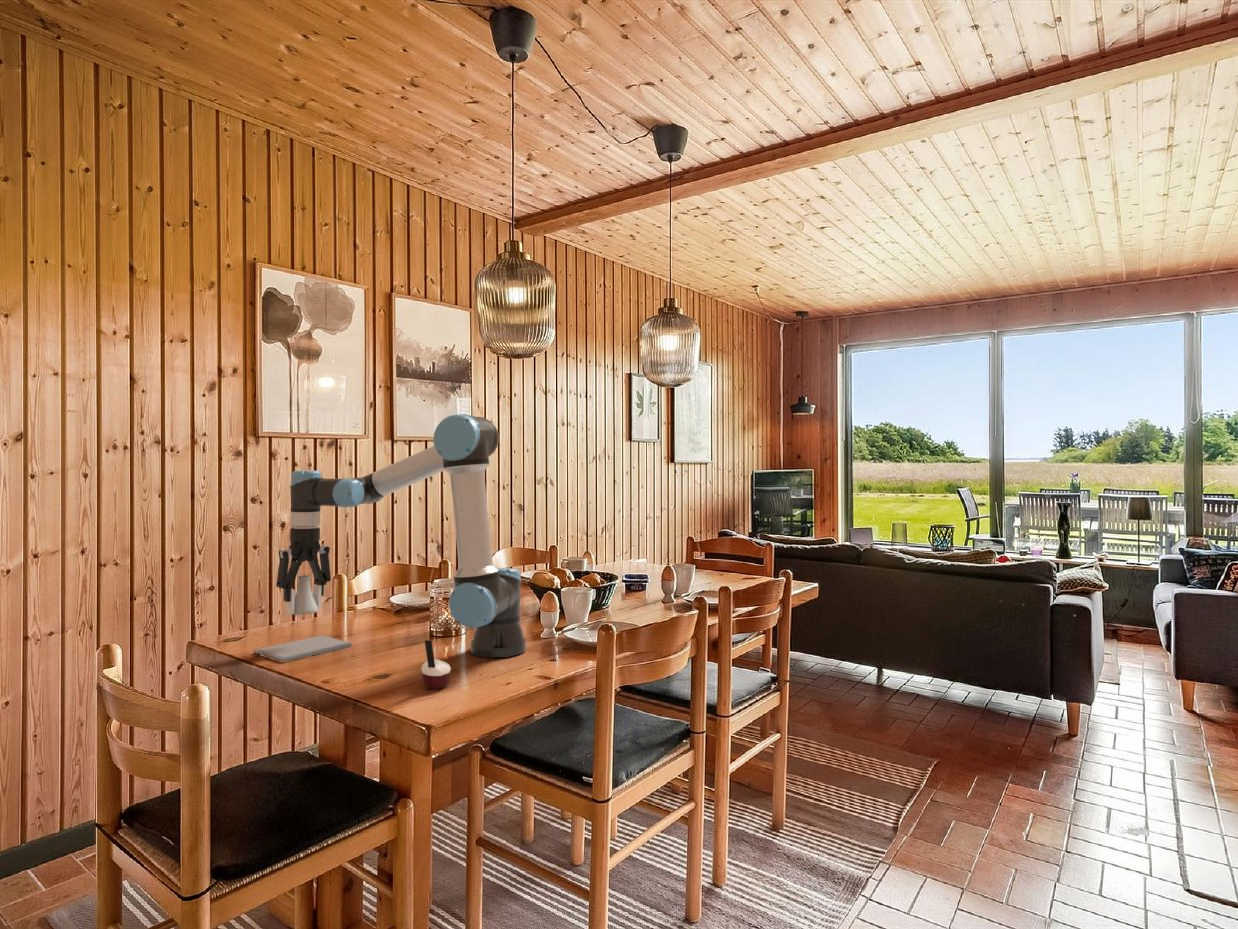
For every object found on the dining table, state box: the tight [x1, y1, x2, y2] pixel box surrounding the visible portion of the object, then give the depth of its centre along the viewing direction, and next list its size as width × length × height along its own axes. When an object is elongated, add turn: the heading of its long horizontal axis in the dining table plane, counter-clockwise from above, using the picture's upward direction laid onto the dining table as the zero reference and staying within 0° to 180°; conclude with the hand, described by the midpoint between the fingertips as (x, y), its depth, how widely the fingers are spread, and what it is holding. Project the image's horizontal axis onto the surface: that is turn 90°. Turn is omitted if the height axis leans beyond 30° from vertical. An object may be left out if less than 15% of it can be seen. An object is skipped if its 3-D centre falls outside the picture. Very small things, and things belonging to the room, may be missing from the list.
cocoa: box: [420, 639, 452, 690], centre depth 163 cm, size 10×6×12 cm, turn 149°
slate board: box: [253, 634, 352, 662], centre depth 192 cm, size 14×20×1 cm
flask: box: [293, 575, 320, 616], centre depth 192 cm, size 7×7×10 cm
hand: (303, 610), depth 192 cm, fingers closed on flask, 7 cm apart
